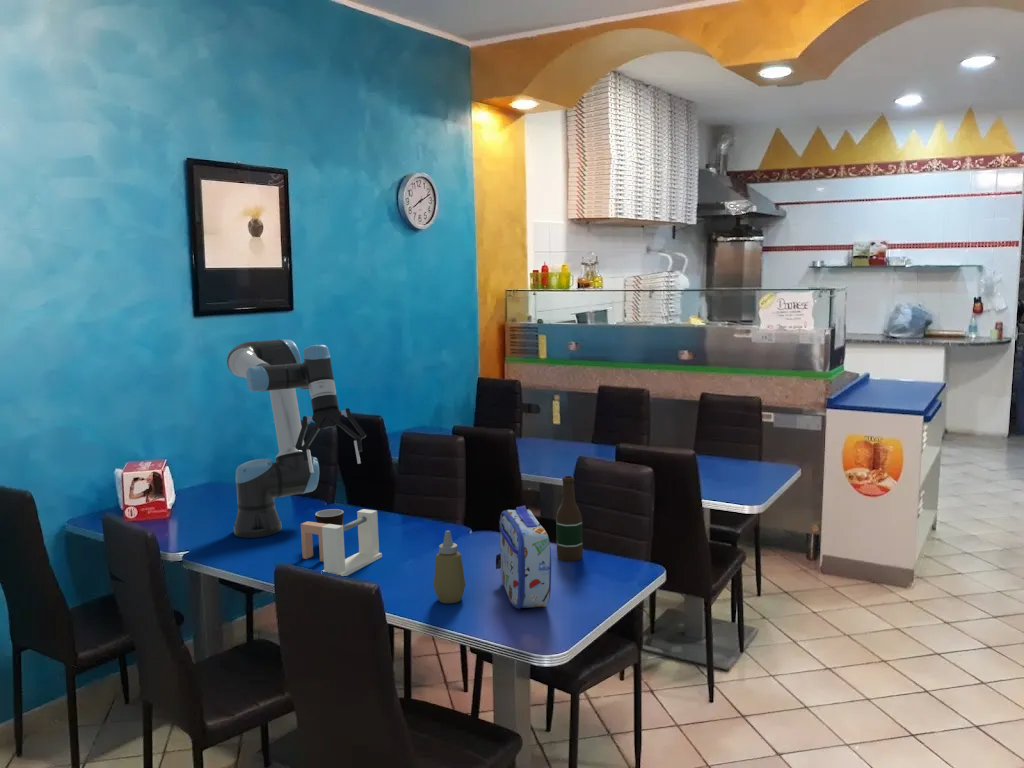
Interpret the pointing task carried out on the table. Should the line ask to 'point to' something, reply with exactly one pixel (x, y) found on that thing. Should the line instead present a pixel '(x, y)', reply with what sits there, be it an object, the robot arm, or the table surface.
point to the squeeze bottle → (449, 572)
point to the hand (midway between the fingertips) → (335, 467)
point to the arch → (306, 537)
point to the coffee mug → (330, 516)
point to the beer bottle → (569, 525)
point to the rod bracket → (335, 544)
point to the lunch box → (524, 559)
